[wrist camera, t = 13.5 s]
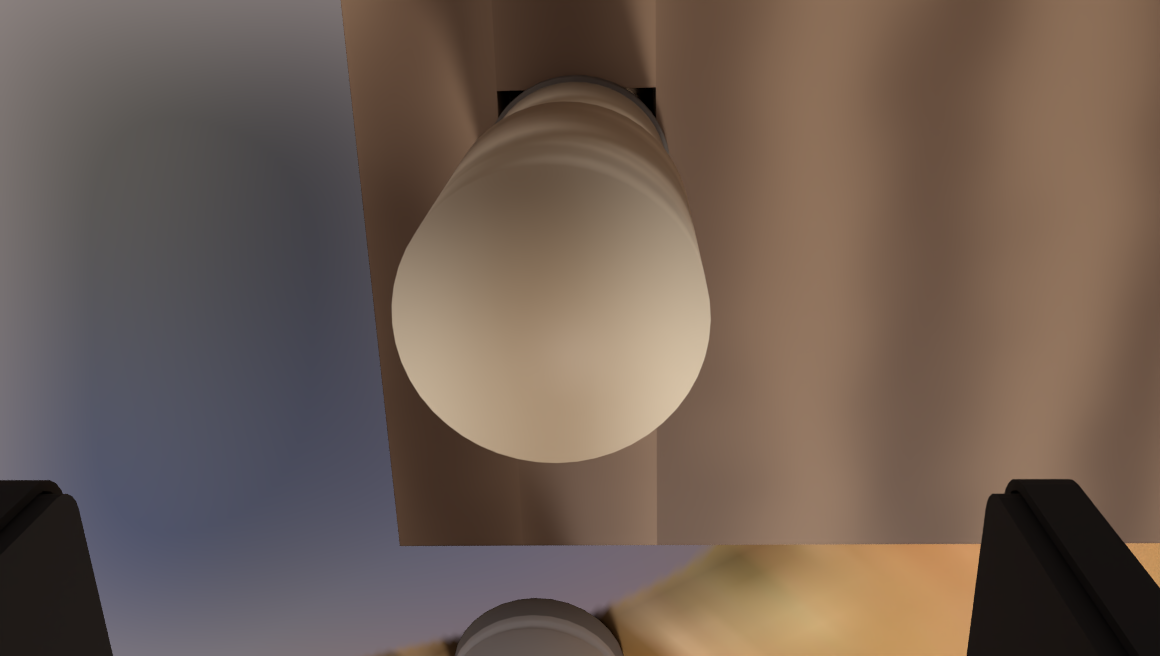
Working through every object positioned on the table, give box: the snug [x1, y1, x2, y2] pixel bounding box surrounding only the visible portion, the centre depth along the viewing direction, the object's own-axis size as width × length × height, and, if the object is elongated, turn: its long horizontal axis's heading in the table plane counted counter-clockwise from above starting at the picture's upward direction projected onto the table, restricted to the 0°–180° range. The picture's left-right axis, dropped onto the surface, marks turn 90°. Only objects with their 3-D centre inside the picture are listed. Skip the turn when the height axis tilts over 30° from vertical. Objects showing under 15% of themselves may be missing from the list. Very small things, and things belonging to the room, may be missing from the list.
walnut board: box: [341, 0, 1160, 546], centre depth 31 cm, size 24×18×3 cm
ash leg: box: [392, 75, 711, 463], centre depth 24 cm, size 5×5×14 cm
